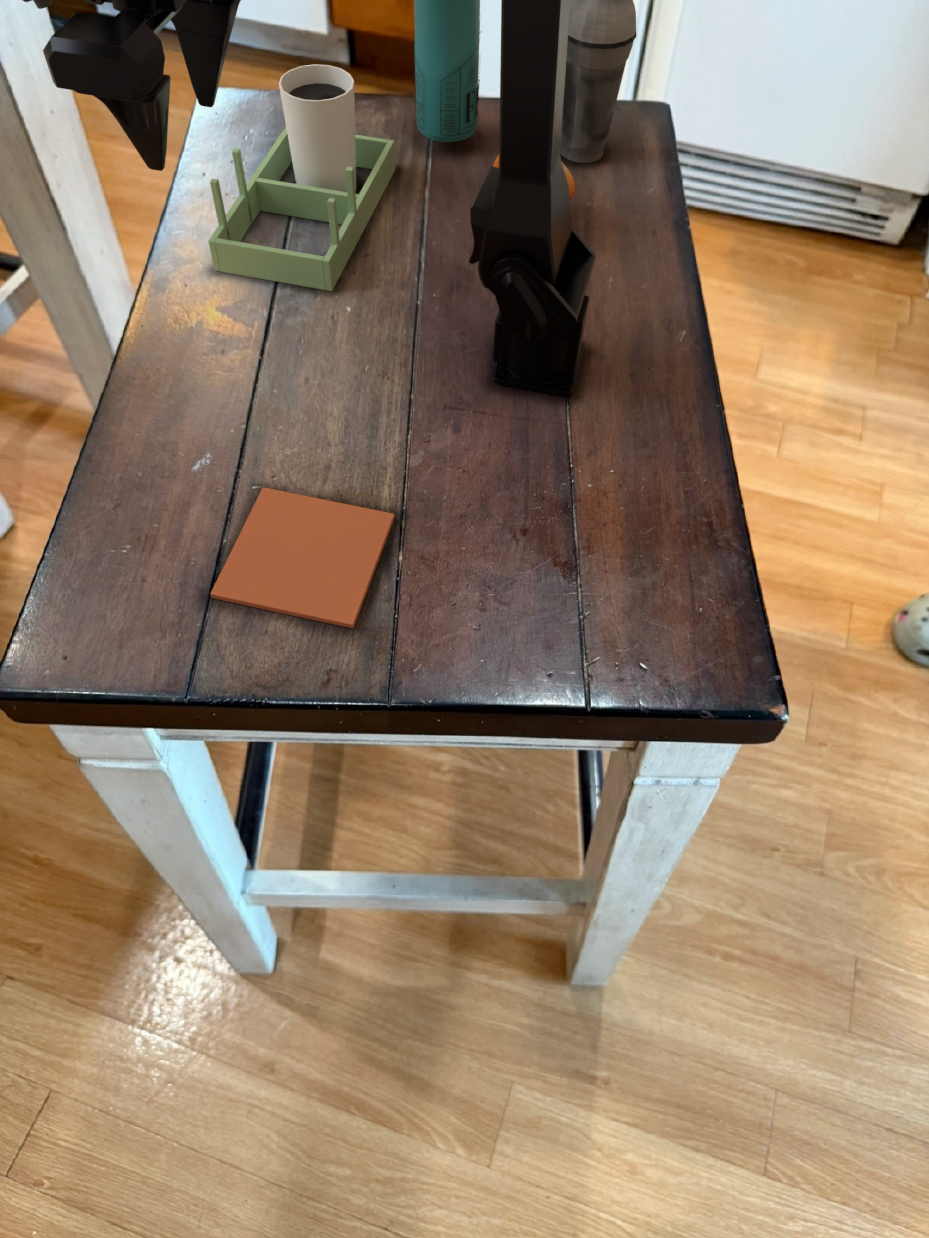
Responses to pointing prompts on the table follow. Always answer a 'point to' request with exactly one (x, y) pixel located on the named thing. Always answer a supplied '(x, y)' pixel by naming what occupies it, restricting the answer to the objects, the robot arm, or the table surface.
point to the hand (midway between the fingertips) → (182, 136)
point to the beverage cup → (594, 73)
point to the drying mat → (305, 557)
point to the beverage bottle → (447, 68)
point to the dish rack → (298, 215)
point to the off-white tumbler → (320, 124)
